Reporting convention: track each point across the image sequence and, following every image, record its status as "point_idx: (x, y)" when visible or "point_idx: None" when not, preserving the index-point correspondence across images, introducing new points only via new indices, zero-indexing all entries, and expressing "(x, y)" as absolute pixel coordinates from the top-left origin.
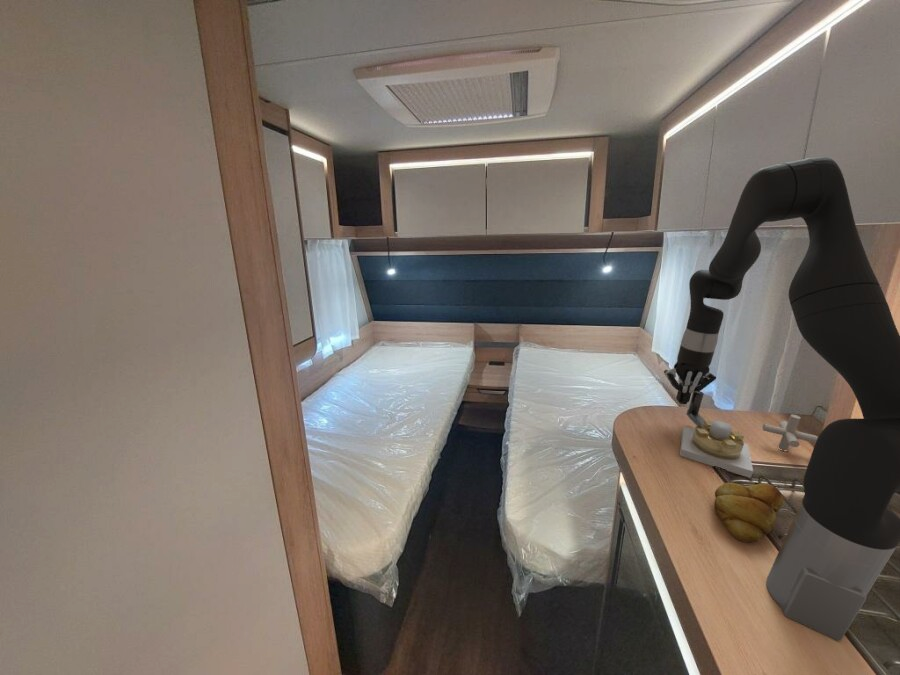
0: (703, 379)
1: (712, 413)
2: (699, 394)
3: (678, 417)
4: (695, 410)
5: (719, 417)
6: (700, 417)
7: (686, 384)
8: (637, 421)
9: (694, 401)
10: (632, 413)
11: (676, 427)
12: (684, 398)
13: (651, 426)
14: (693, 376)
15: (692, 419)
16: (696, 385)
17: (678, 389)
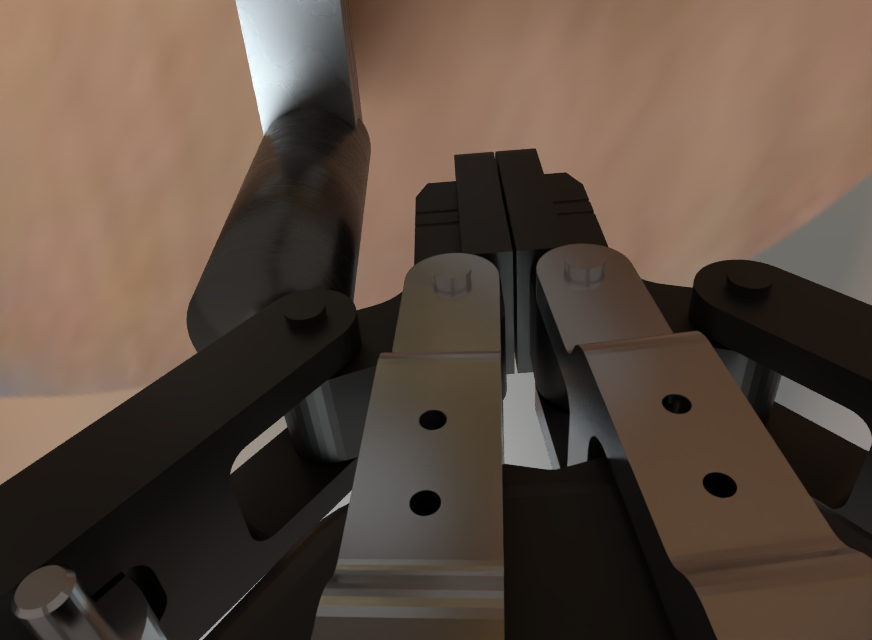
0: (172, 573)
1: (65, 339)
2: (273, 268)
3: (381, 226)
4: (308, 129)
5: (16, 291)
6: (266, 26)
7: (661, 349)
8: (832, 78)
9: (333, 204)
10: (790, 216)
11: (474, 36)
12: (522, 191)
13: (738, 3)
14: (527, 608)
15: (349, 39)
16: (392, 360)
17: (733, 271)
